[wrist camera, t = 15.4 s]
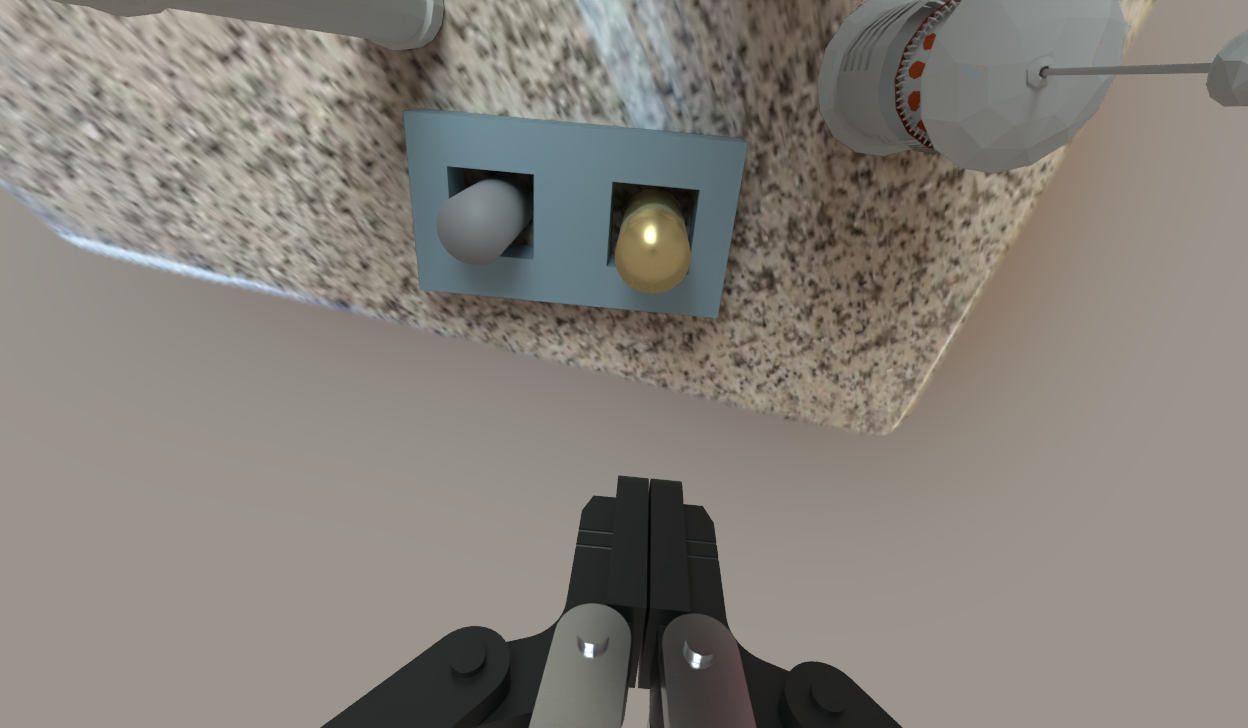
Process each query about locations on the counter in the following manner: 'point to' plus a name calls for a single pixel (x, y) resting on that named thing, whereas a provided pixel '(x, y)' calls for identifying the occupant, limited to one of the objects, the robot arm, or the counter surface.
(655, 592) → the robot arm
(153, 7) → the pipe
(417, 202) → the jig
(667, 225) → the gold cylinder
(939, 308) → the counter surface
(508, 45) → the counter surface
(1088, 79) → the french press
